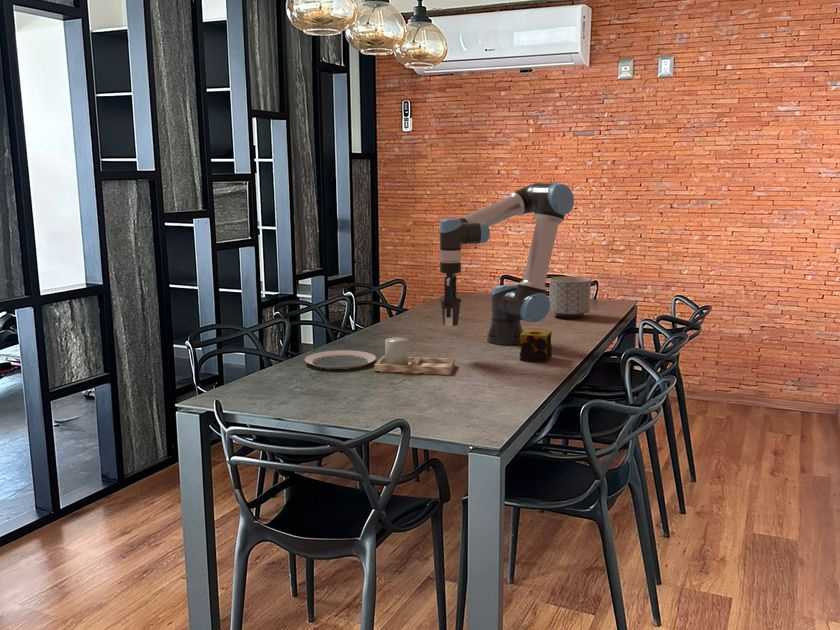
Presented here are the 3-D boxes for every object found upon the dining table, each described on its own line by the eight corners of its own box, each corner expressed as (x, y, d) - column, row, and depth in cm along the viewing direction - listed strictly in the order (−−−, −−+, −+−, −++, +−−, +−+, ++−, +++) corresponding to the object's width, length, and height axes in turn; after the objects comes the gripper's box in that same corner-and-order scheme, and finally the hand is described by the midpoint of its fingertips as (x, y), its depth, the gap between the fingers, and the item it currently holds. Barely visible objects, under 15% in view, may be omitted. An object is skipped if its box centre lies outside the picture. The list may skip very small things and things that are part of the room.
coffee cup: (454, 327, 278) (454, 299, 276) (435, 325, 282) (435, 298, 280) (465, 323, 285) (465, 296, 283) (446, 321, 289) (446, 295, 287)
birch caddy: (454, 365, 275) (454, 358, 275) (449, 374, 262) (449, 367, 262) (382, 362, 279) (382, 356, 279) (374, 371, 267) (374, 364, 266)
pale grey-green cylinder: (410, 362, 275) (410, 338, 274) (405, 368, 267) (405, 342, 266) (388, 362, 276) (387, 337, 275) (383, 367, 269) (382, 341, 267)
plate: (296, 359, 286) (296, 354, 286) (362, 353, 296) (362, 347, 296) (315, 375, 263) (315, 369, 263) (386, 367, 273) (386, 362, 273)
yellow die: (552, 357, 288) (552, 330, 287) (547, 363, 279) (548, 335, 277) (524, 355, 292) (525, 329, 290) (519, 361, 282) (519, 334, 280)
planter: (595, 315, 373) (596, 278, 370) (580, 321, 357) (582, 282, 354) (558, 312, 383) (559, 275, 380) (542, 318, 367) (543, 279, 364)
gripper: (444, 258, 290) (444, 318, 294) (435, 264, 270) (435, 329, 274) (464, 258, 289) (464, 318, 293) (457, 265, 269) (457, 329, 273)
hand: (450, 323), depth 283 cm, fingers closed on coffee cup, 8 cm apart
